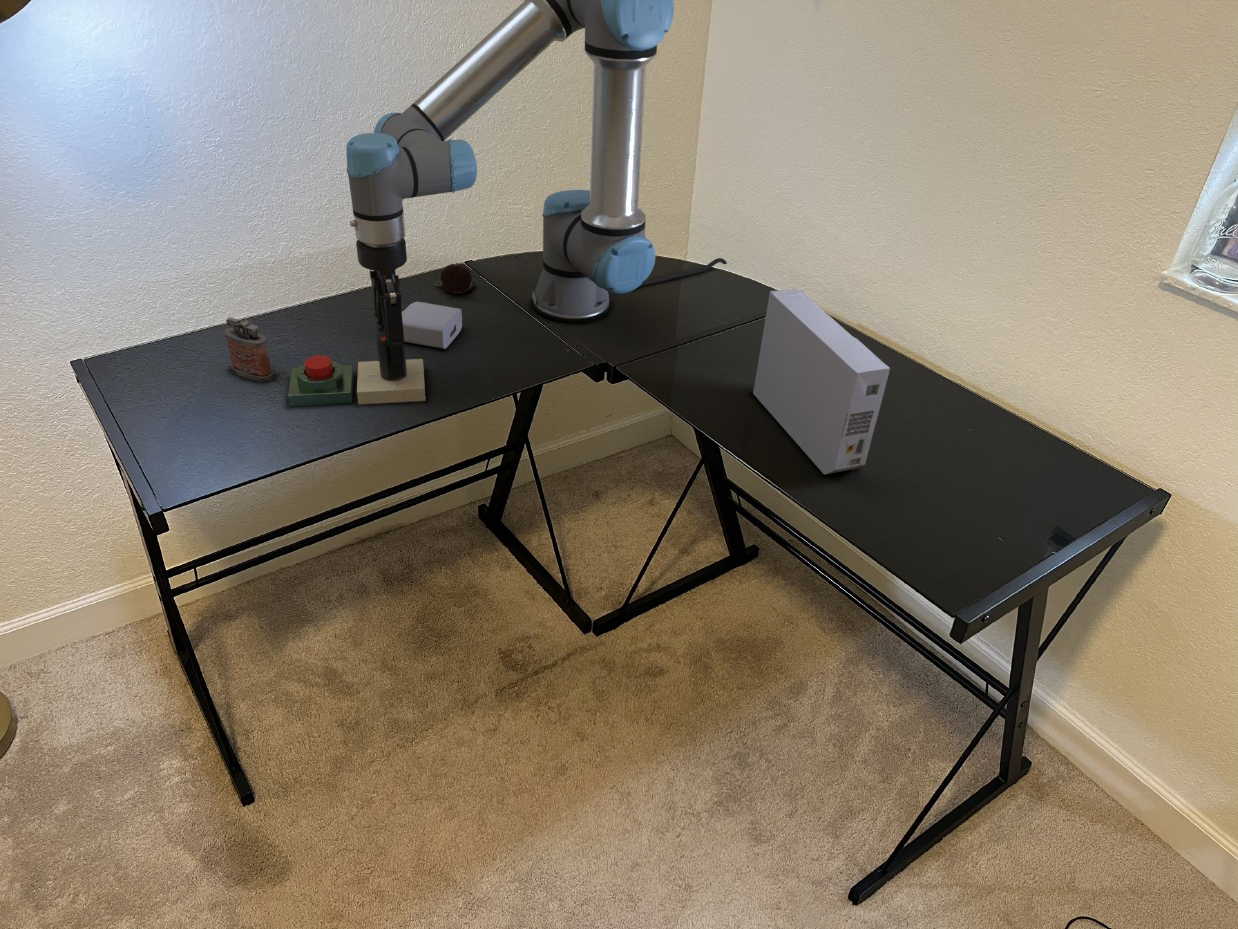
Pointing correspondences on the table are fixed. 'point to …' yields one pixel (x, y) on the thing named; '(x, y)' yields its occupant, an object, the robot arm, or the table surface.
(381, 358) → the hob knob
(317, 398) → the box
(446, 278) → the dark brown round lump
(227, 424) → the table surface
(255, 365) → the lighter
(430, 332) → the charger
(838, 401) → the game console
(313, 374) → the button
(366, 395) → the hob panel
